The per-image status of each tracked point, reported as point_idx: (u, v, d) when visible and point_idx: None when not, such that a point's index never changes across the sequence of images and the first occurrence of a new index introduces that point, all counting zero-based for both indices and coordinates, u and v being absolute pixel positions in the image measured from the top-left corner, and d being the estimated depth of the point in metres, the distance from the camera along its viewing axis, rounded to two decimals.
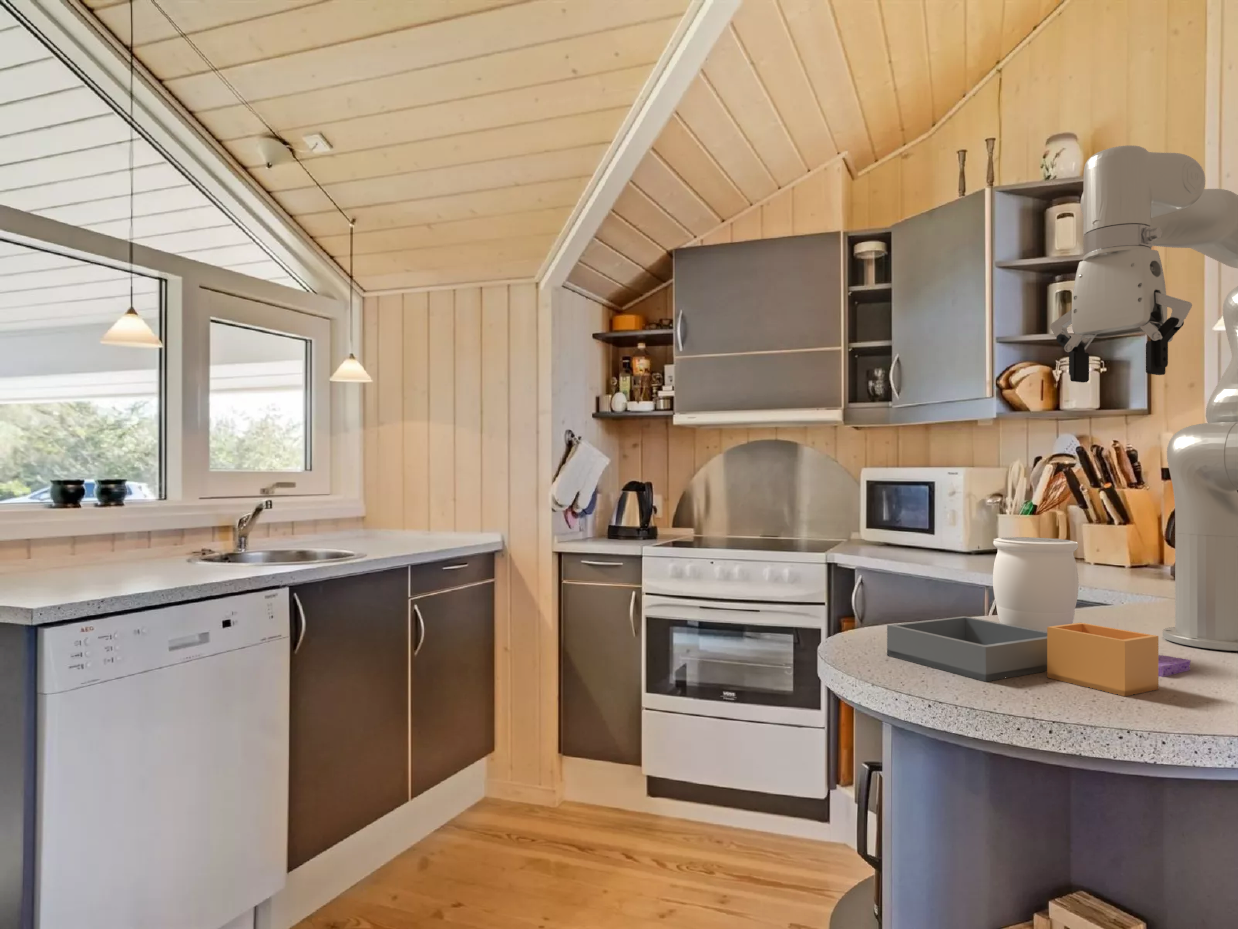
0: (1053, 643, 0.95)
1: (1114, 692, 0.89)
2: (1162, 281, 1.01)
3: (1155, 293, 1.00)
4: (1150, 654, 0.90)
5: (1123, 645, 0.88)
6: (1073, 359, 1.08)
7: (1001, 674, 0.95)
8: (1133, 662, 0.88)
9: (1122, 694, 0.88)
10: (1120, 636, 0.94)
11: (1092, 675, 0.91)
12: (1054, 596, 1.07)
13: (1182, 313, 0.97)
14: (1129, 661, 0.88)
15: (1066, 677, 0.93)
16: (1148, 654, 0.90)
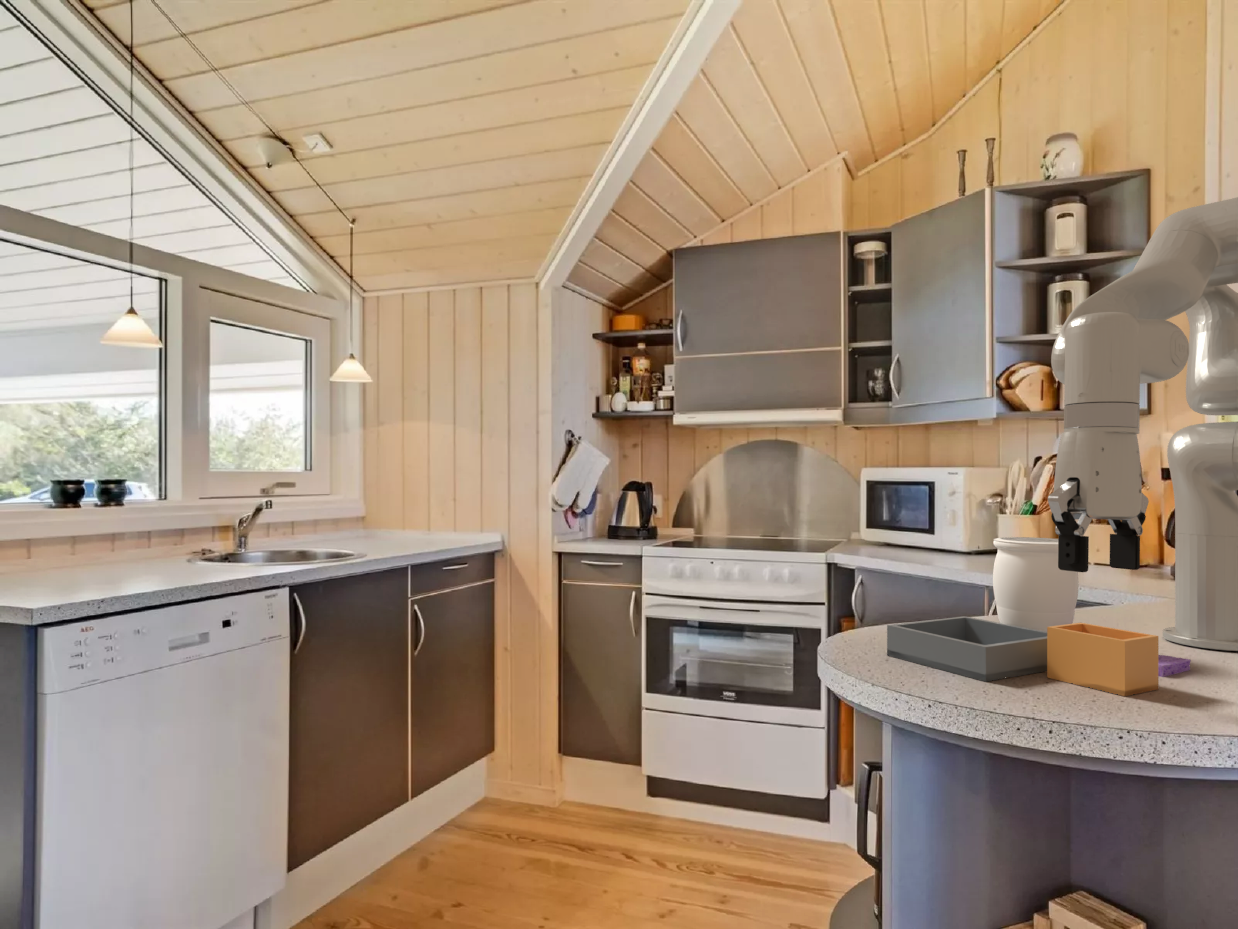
0: (1053, 643, 0.95)
1: (1114, 692, 0.89)
2: None
3: None
4: (1150, 654, 0.90)
5: (1123, 645, 0.88)
6: (1087, 546, 0.89)
7: (1001, 674, 0.95)
8: (1133, 662, 0.88)
9: (1122, 694, 0.88)
10: (1120, 636, 0.94)
11: (1092, 675, 0.91)
12: (1054, 596, 1.07)
13: (1145, 509, 0.96)
14: (1129, 661, 0.88)
15: (1066, 677, 0.93)
16: (1148, 654, 0.90)
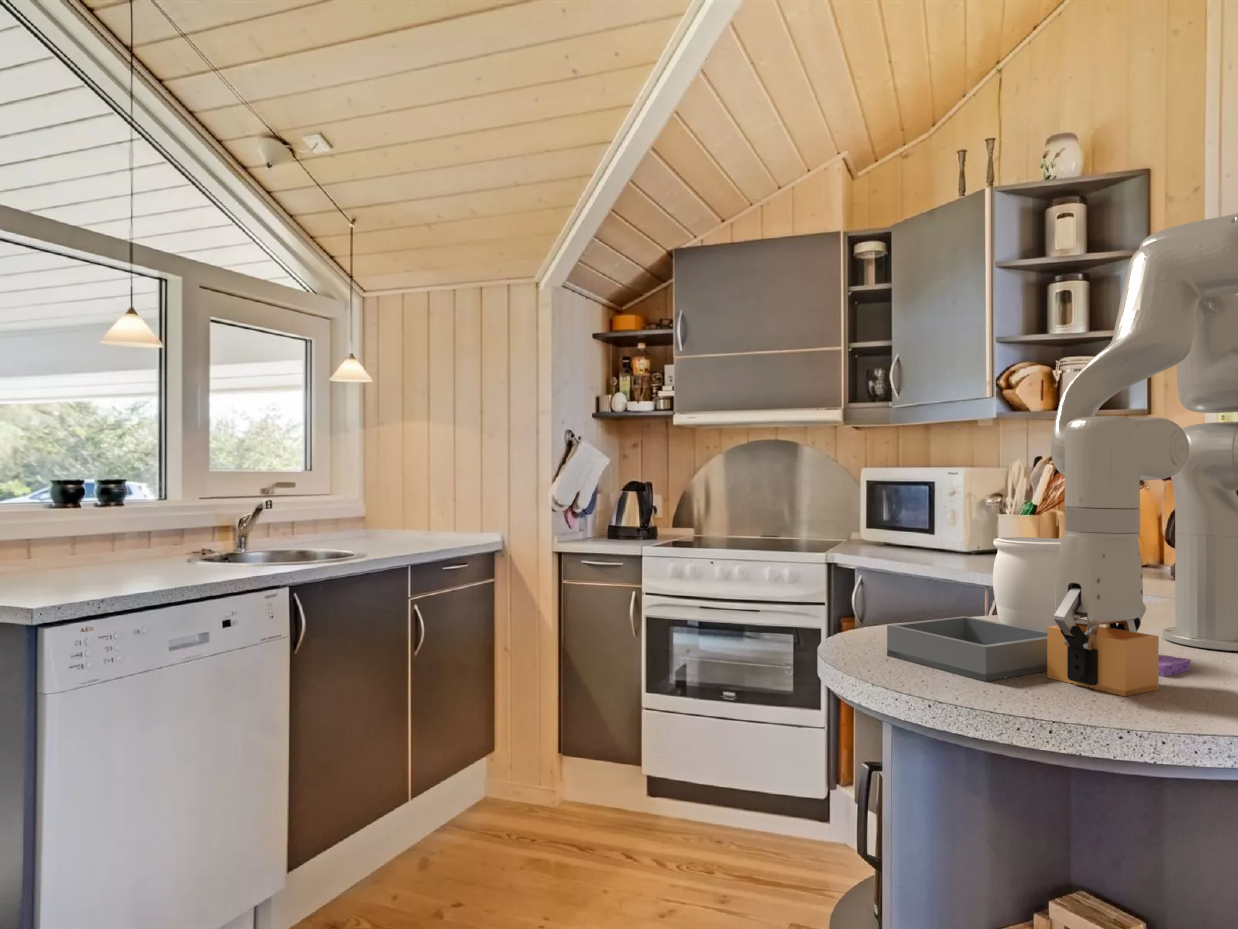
0: (1053, 643, 0.95)
1: (1114, 692, 0.89)
2: None
3: None
4: (1150, 654, 0.90)
5: (1124, 645, 0.88)
6: (1096, 659, 0.90)
7: (1001, 674, 0.95)
8: (1133, 662, 0.88)
9: (1122, 694, 0.88)
10: (1120, 636, 0.94)
11: None
12: (1054, 596, 1.07)
13: (1141, 617, 0.96)
14: (1129, 661, 0.88)
15: (1066, 677, 0.93)
16: (1149, 654, 0.90)
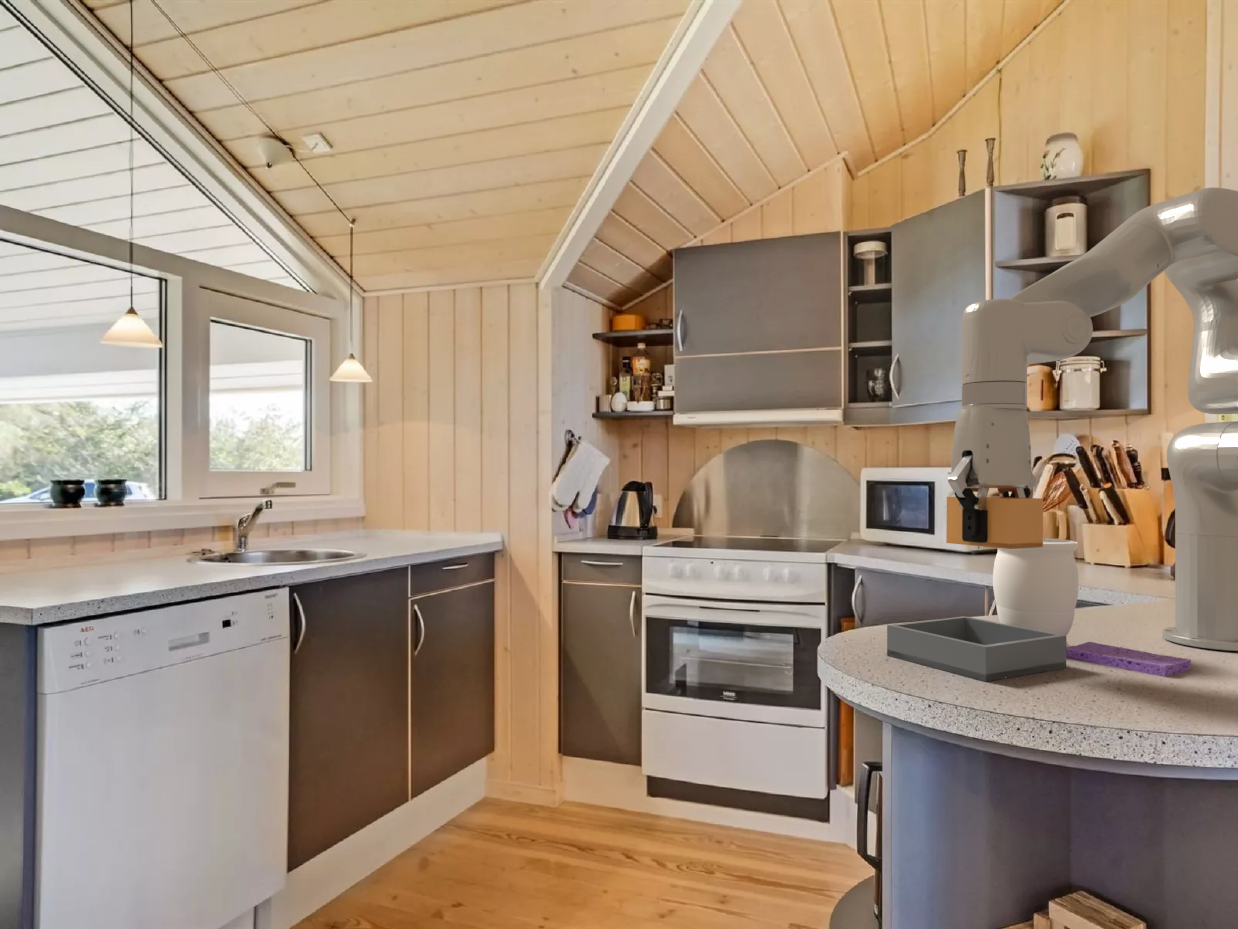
0: (951, 510, 1.04)
1: (1001, 546, 0.97)
2: None
3: None
4: (1035, 514, 0.99)
5: (1009, 502, 0.97)
6: (986, 519, 0.99)
7: (1001, 674, 0.95)
8: (1018, 519, 0.97)
9: (1007, 547, 0.97)
10: None
11: None
12: (1054, 596, 1.07)
13: (1032, 488, 1.05)
14: (1014, 517, 0.97)
15: (962, 540, 1.02)
16: (1033, 514, 0.99)
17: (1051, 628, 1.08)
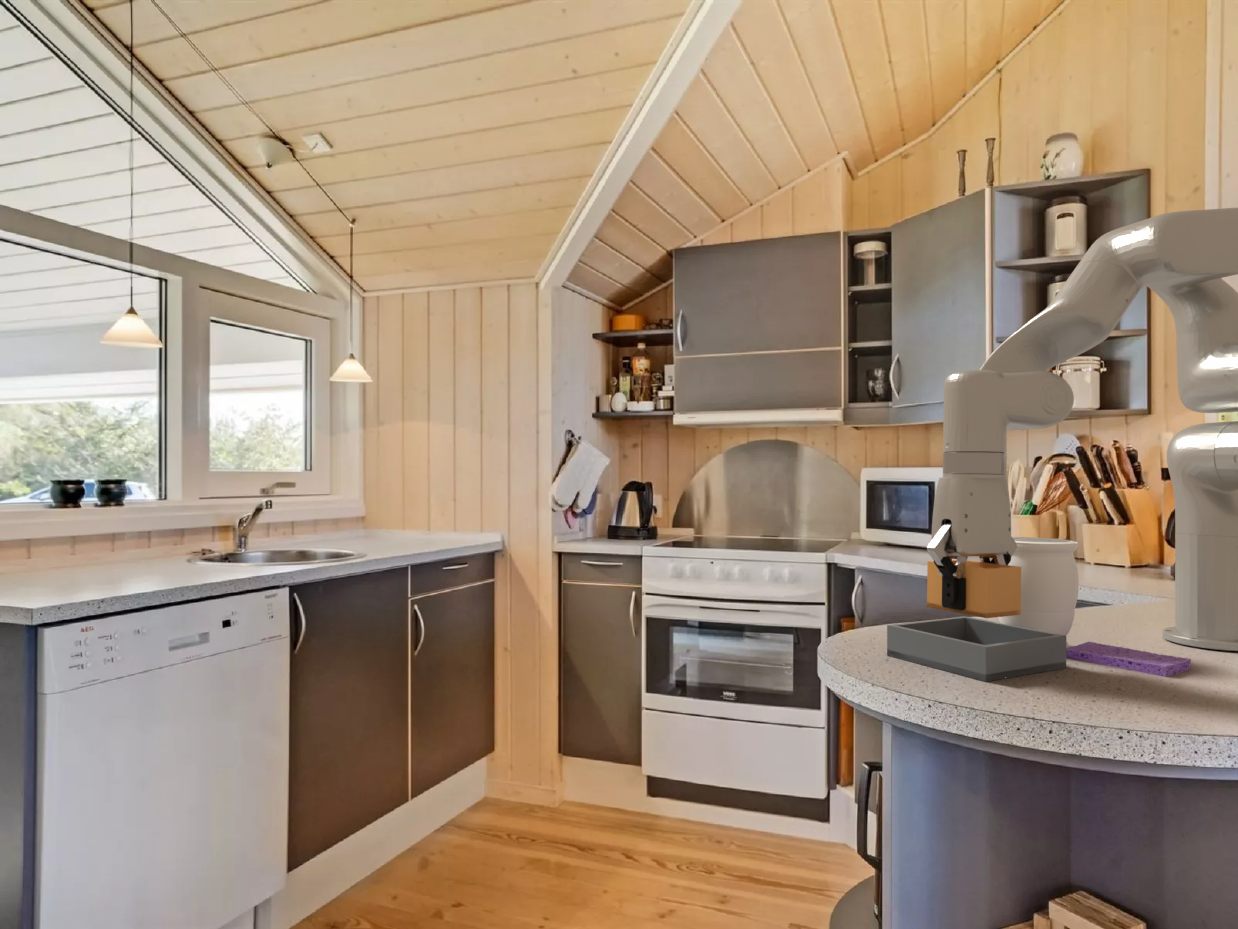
0: (931, 575, 1.05)
1: (978, 615, 0.99)
2: None
3: None
4: (1012, 582, 1.00)
5: (986, 572, 0.98)
6: (965, 587, 1.01)
7: (1001, 674, 0.95)
8: (995, 588, 0.99)
9: (984, 616, 0.98)
10: None
11: None
12: (1054, 596, 1.07)
13: (1012, 553, 1.06)
14: (991, 587, 0.99)
15: (941, 605, 1.04)
16: (1011, 582, 1.00)
17: (1051, 628, 1.08)
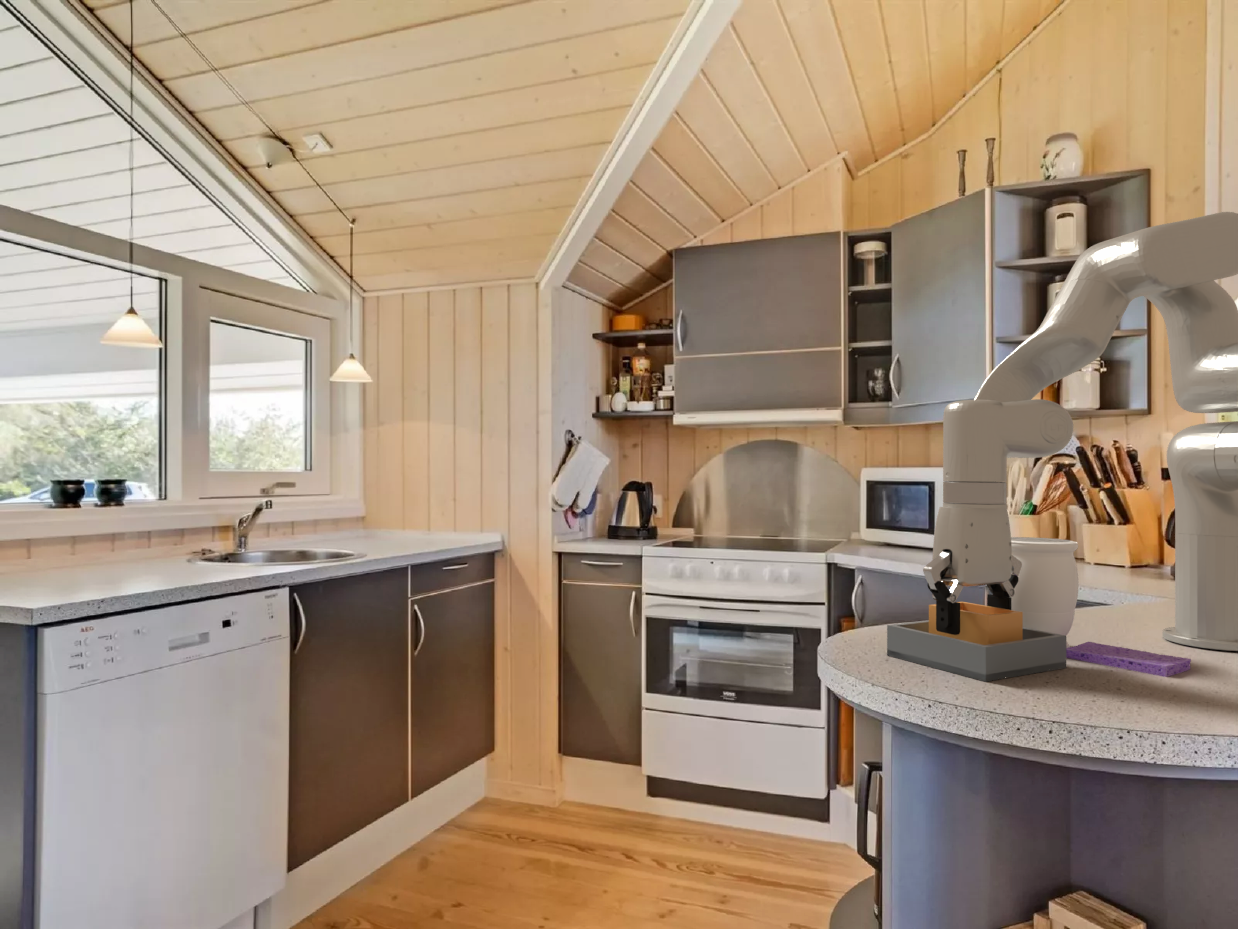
0: (933, 619, 1.05)
1: None
2: None
3: None
4: (1014, 628, 1.00)
5: (987, 619, 0.98)
6: (959, 611, 1.00)
7: (1001, 674, 0.95)
8: (997, 635, 0.99)
9: None
10: (992, 613, 1.04)
11: None
12: (1054, 596, 1.07)
13: (1019, 572, 1.07)
14: (992, 634, 0.99)
15: None
16: (1012, 628, 1.00)
17: (1051, 628, 1.08)
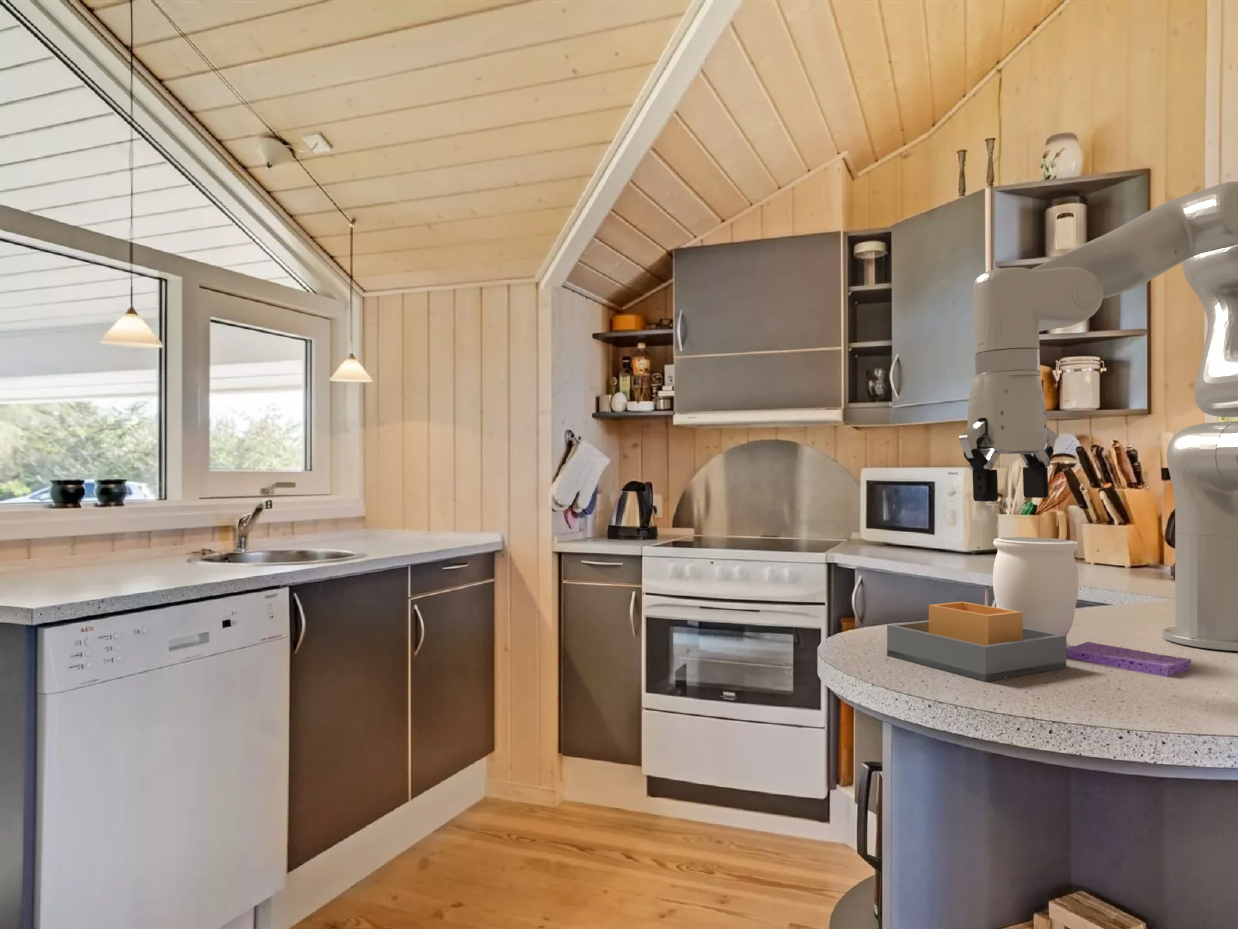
0: (933, 619, 1.05)
1: None
2: None
3: None
4: (1014, 628, 1.00)
5: (987, 619, 0.98)
6: (996, 478, 1.00)
7: (1001, 674, 0.95)
8: (997, 635, 0.99)
9: None
10: (992, 613, 1.04)
11: None
12: (1054, 596, 1.07)
13: (1053, 444, 1.07)
14: (992, 634, 0.99)
15: None
16: (1012, 628, 1.00)
17: (1051, 628, 1.08)
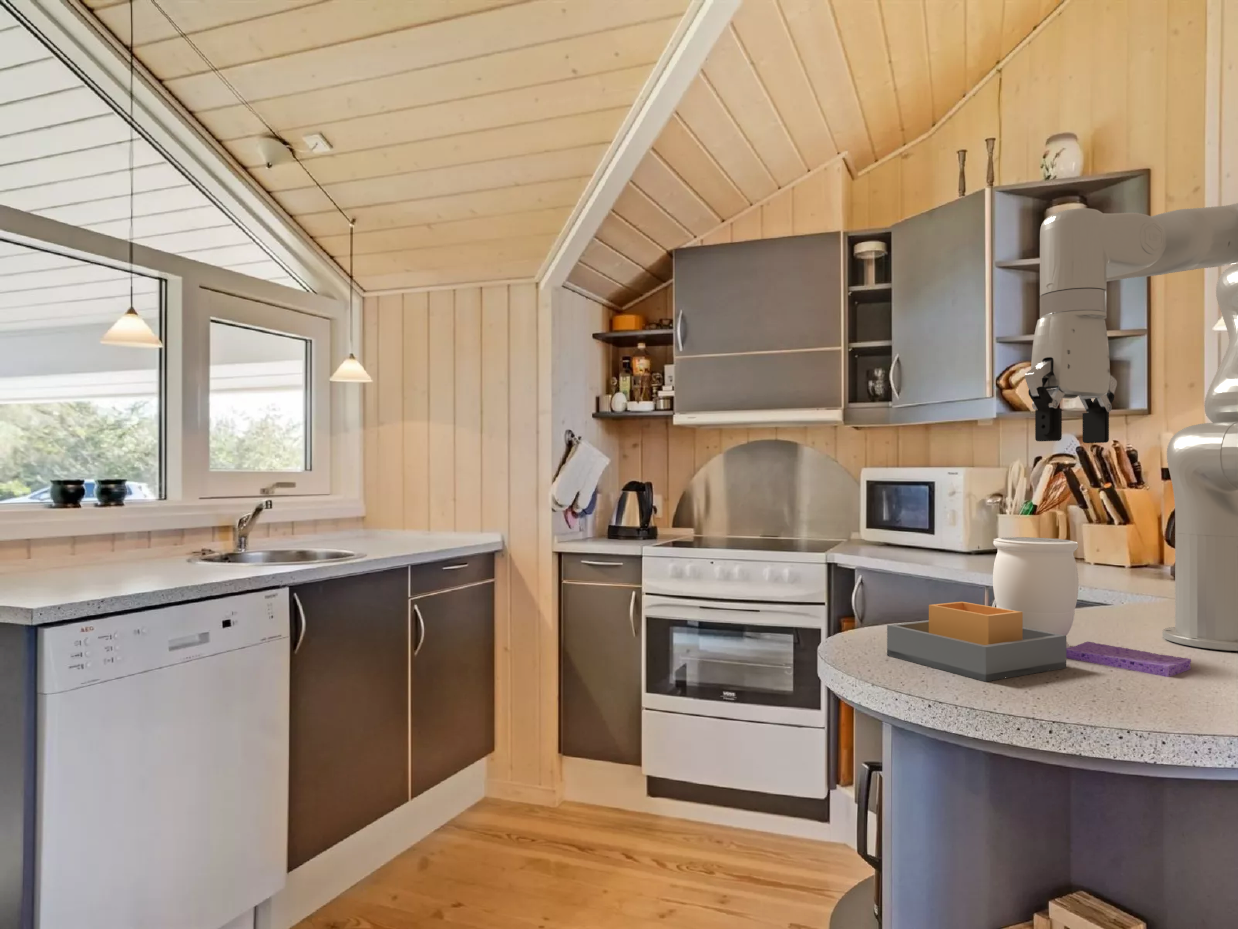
0: (933, 619, 1.05)
1: None
2: None
3: None
4: (1014, 628, 1.00)
5: (987, 619, 0.98)
6: (1060, 417, 1.00)
7: (1001, 674, 0.95)
8: (997, 635, 0.99)
9: None
10: (992, 613, 1.04)
11: None
12: (1054, 596, 1.07)
13: (1114, 390, 1.07)
14: (992, 634, 0.99)
15: None
16: (1012, 628, 1.00)
17: (1051, 628, 1.08)
